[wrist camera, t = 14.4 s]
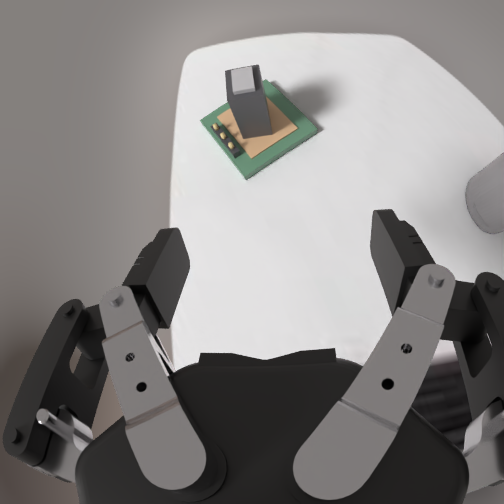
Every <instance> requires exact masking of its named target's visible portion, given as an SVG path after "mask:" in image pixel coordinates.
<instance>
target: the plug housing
mask: <svg viewBox="0 0 504 504" xmlns="http://www.w3.org/2000/svg"><path fill="white" fill-rule="evenodd" d="M225 75H226V90H227V101H228V104H229V106H230V109H231V111H232V113H233V116H234V118H235V120H236V123H237V125H238V128H239V130H240V133H241V135H242V137H243V139H248V138H254V137H260V136H267V135H273V134H272V127H271V121H270V115H269V108H268V103H267V99H266V94H265V90H264V86H263V81H262V77H261V73H260V68H259V65H253V66H247V67H242V68H237V69H232V70H227V71H225Z"/></svg>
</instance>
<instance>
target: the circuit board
mask: <svg viewBox="0 0 504 504" xmlns="http://www.w3.org/2000/svg"><path fill="white" fill-rule="evenodd" d="M263 86H264V90H265V94H266V99H267V103H268V108H269V115H270V121H271V127H272V134H273V135H267V136H260V137H254V138H248V139H243V137H242V135H241V133H240V130H239V128H238V125H237V123H236V120H235V118H234V116H233V113H232V111H231V109H230V106H229V104H228V102H227V103H226V104H224V105H222V106H221V107H219V108H218V109H216V110H215V111H213V112H212V113H210V114H209V115H207V116H206V117H204V118H203V119H201V120H200V121H201V123H202V124H203V126H204V127H205V128H206V129H207V131H208V132H209V133H210V134H211V136H212V137H213V138H214V140H215V141H216V142H217V143H218V145H219V146H220V147H221V148H222V150H223V151H224V152H225V154H226V155H227V156H228V157H229V159H230V160H231V161H232V163H233V164H234V165H235V166H236V168H237V169H238V170H239V172H240V173H241V174H242V175H243V177H244V178H245V179H246V180H247V179H248V178H250V177H251V176H253V175H254V174H256V173H257V172H259V171H260V170H262V169H263V168H264V167H266V166H267V165H269V164H270V163H272V162H273V161H275V160H276V159H278V158H279V157H281V156H282V155H284V154H285V153H287V152H288V151H290V150H292V149H293V148H295V147H296V146H298V145H299V144H301V143H302V142H304V141H305V140H307V139H309V138H310V137H312V136H313V135H315V134H316V133H317V128H316V127H315V126H314V125H313V124H312V123H311V122H310V121H309V120H308V119H307V118H306V117H305V116H304V115H303V114H302V113H301V112H300V111H299V110H298V109H297V108H296V107H295V106H294V105H293V104H292V103H291V102H290V101H289V100H288V99H287V98H286V97H285V96H284V95H283V94H282V93H281V92H279V91H278V90H277V89H276V88H275V87H274V86H273V85H272V84H271V83H270V82H269V81H267V80H264V81H263Z"/></svg>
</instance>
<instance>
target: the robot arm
mask: <svg viewBox="0 0 504 504" xmlns="http://www.w3.org/2000/svg"><path fill="white" fill-rule="evenodd" d="M466 202H467V207H468V210H469V213H470V215H471V217H472V219H473V220H474V222H475V223H476V224H477V226H479V227H480V228H481V229H482V230H483V231H485V232H487V233H490V234H496V233H499V232H502V231H504V153H502V154H501V155H500V156H499V157H497V158H496V159H495V160H494V161H492V162H491V163H490V164H489V165H487V166H486V167H485V168H483V169H482V170H481V171H480V172H478V173H477V174H476V175H475V176H473V177H472V178H471V179H470V181H469V182H468V185H467V188H466ZM370 249H371V256H372V259H373V261H374V264H375V267H376V270H377V272H378V275H379V278H380V281H381V284H382V286H383V289H384V292H385V295H386V298H387V301H388V304H389V307H390V311H391V314H392V319H391V321H390V322H389V324H388V326H387V328H386V330H385V331H384V333H383V335H382V337H381V338H380V340H379V342H378V343H377V345H376V347H375V348H374V350H373V352H372V353H371V355H370V357H369V358H368V360H367V361H366V363H365V365H364V366H361V365H359V364H357V363H355V362H352V361H349V360H345V359H341V358H336V353H335V348H331V349H319V350H306V351H299V352H295V353H291V354H288V355H284V356H280V357H276V358H273V359H268V360H262V359H257V358H252V357H247V356H242V355H238V354H233V353H200V358H199V362H198V363H194V364H191V365H188V366H186V367H183V368H181V369H179V370H177V371H176V370H175V369H174V367H173V365H172V363H171V361H170V359H169V357H168V355H167V353H166V351H165V349H164V347H163V345H162V343H161V341H160V339H159V337H158V336H157V334H156V333H157V330H158V328H165V329H166V328H167V329H168V328H169V327H170V324H171V321H172V318H173V315H174V312H175V309H176V307H177V304H178V301H179V298H180V295H181V292H182V289H183V287H184V284H185V281H186V278H187V275H188V273H189V269H190V260H189V256H188V253H187V250H186V247H185V244H184V241H183V238H182V235H181V233H180V230H179V229H178V228H168V229H161V230H160V231H159V232H158V234H157V235H156V237H155V239H154V240H153V242H150V243H149V244H148V245H147V246H146V247H144V248H143V249H142V251H141V253H140V254H139V256H138V259H136V261H135V263H134V266H132V268H131V270H130V272H129V274H128V275H127V277H126V279H125V281H124V282H123V284H122V286H118V287H115V288H113V289H111V290H109V291H108V292H107V293H106V294H104V295H103V297H102V298H101V300H100V303H99V304H98V305H95V306H91V307H88V308H85V306H84V305H83V303H82V302H81V301H80V300H79V299H73V300H70V301H68V302H66V303H64V304H63V305H62V306H61V307H60V308H59V309H58V311H57V313H56V314H55V316H54V318H53V320H52V322H51V324H50V326H49V328H48V329H47V331H46V333H45V335H44V337H43V339H42V341H41V343H40V345H39V347H38V349H37V351H36V353H35V355H34V357H33V359H32V362H31V364H30V366H29V368H28V370H27V373H26V375H25V377H24V380H23V382H22V384H21V387H20V390H19V392H18V394H17V397H16V399H15V402H14V404H13V407H12V410H11V412H10V415H9V418H8V421H7V424H6V427H5V430H4V434H3V444H4V448H5V450H6V451H7V453H8V454H10V455H11V456H13V457H15V458H17V459H18V460H21V461H22V462H24V463H25V464H26V465H28V466H30V467H32V468H34V469H36V470H38V471H40V472H42V473H44V474H46V475H48V476H52V477H55V478H58V479H60V480H62V481H65V482H74V483H76V487H77V491H78V497H79V504H462V503H463V501H464V498H465V495H466V494H467V493H470V492H473V491H475V490H478V489H480V488H483V487H485V486H495V485H498V484H500V483H502V482H504V280H503V279H502V278H500V277H499V276H498V275H496V274H493V273H490V272H483V273H480V274H479V275H478V276H477V278H476V280H475V283H469V282H462V281H457V280H455V277H454V275H453V274H452V272H450V271H449V270H448V269H447V268H445V267H443V266H441V265H437V264H436V263H435V262H434V260H433V258H432V256H431V255H430V253H429V251H428V250H427V248H426V246H425V245H424V243H423V242H422V240H421V238H420V237H419V236H418V234H417V232H416V230H415V229H414V227H413V226H411V225H410V224H408V223H407V222H406V221H399V219H398V218H397V216H396V215H395V213H394V211H393V210H392V209H385V210H374V211H373V216H372V229H371V241H370ZM487 334H488V336H489V338H488V336H487ZM440 339H441V340H449V341H453V344H454V347H455V351H456V354H457V357H458V361H459V364H460V368H461V371H462V375H463V379H464V383H465V387H466V391H467V396H468V400H469V405H470V410H471V415H472V420H473V421H472V422H471V423H470V425H469V426H468V428H467V430H466V434H465V443H464V451H463V453H462V452H461V451H460V449H459V448H458V447H457V446H455V445H454V444H453V443H452V442H451V441H450V440H448V439H447V438H446V437H445V436H444V435H443V434H442V433H440V432H439V431H438V430H437V429H436V428H435V427H434V426H432V425H431V424H430V423H429V422H428V421H427V420H426V419H424V418H423V417H422V416H421V415H420V414H419V413H418V412H416V411H415V410H414V409H413V408H412V407H411V404H412V402H413V400H414V398H415V396H416V394H417V392H418V390H419V388H420V386H421V383H422V381H423V379H424V377H425V375H426V372H427V370H428V368H429V365H430V363H431V360H432V358H433V355H434V353H435V350H436V348H437V345H438V342H439V340H440ZM489 339H490V341H491V344H492V346H491V344H490V341H489ZM75 347H77V348H78V349H79V350H80V351H81V352H82V354H81V356H80V359H79V362H78V364H77V366H76V369H75V371H74V374H73V373H72V372H71V370H70V366H69V362H70V358H71V356H72V354H73V352H74V349H75ZM108 371H110V375H111V378H112V382H113V385H114V388H115V391H116V394H117V397H118V400H119V403H120V406H121V409H122V412H123V416H122V417H121V418H120V419H119V420H117V421H116V422H115V423H114V424H113V425H112V426H110V427H109V428H108V429H107V430H106V431H105V432H103V433H102V434H101V435H100V436H99V437H97V438H96V439H95V440H93V436H92V432H91V428H92V424H93V421H94V417H95V413H96V409H97V406H98V403H99V400H100V397H101V393H102V390H103V387H104V384H105V381H106V377H107V374H108Z"/></svg>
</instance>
